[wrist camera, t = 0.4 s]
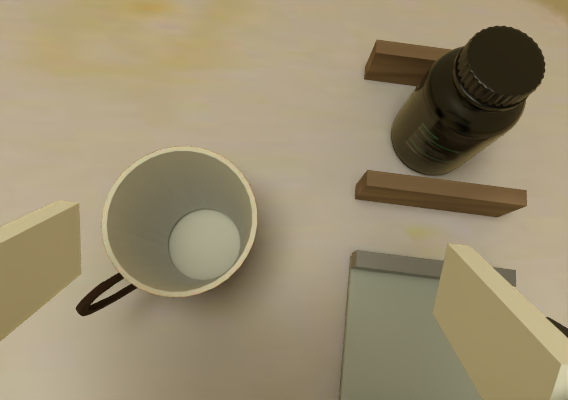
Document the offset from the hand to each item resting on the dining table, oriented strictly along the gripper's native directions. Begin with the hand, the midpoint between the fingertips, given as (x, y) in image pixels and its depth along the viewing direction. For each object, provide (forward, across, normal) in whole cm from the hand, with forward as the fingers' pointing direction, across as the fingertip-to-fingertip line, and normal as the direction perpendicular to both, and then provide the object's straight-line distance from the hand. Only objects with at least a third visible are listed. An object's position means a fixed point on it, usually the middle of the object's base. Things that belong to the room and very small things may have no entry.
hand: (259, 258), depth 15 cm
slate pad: (+15, -12, +12) cm, 22 cm away
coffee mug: (+17, +7, +7) cm, 19 cm away
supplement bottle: (+23, -12, -3) cm, 26 cm away
